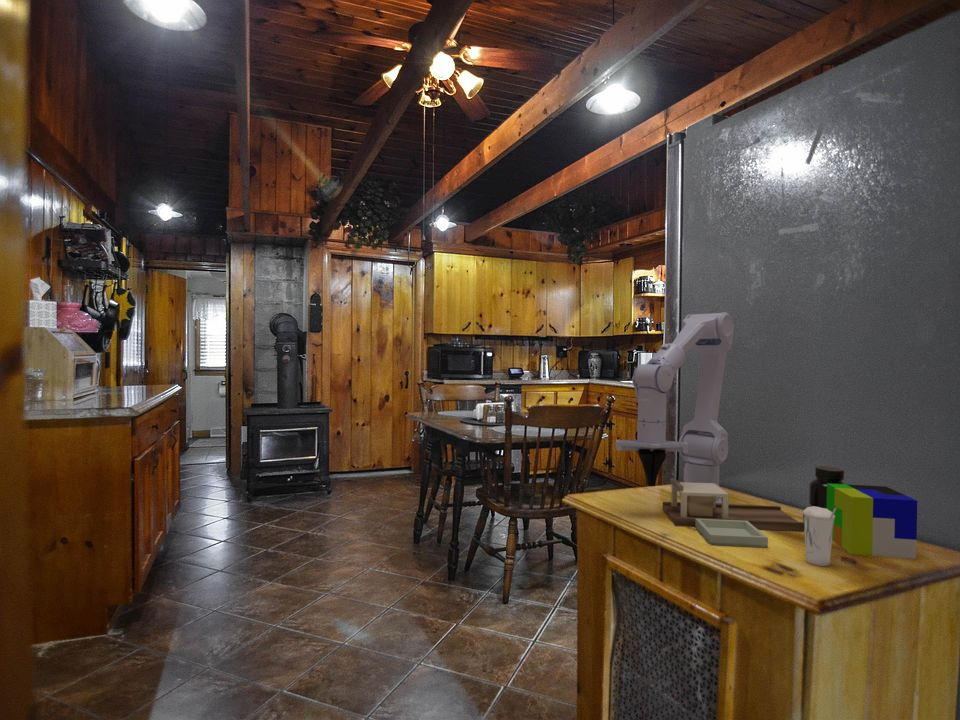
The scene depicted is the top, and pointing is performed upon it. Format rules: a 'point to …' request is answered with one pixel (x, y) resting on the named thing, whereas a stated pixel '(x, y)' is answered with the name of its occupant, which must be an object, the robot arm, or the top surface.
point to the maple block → (700, 505)
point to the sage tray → (731, 533)
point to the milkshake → (818, 534)
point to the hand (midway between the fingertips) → (650, 485)
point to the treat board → (741, 516)
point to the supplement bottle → (823, 484)
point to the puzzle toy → (873, 520)
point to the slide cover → (698, 490)
